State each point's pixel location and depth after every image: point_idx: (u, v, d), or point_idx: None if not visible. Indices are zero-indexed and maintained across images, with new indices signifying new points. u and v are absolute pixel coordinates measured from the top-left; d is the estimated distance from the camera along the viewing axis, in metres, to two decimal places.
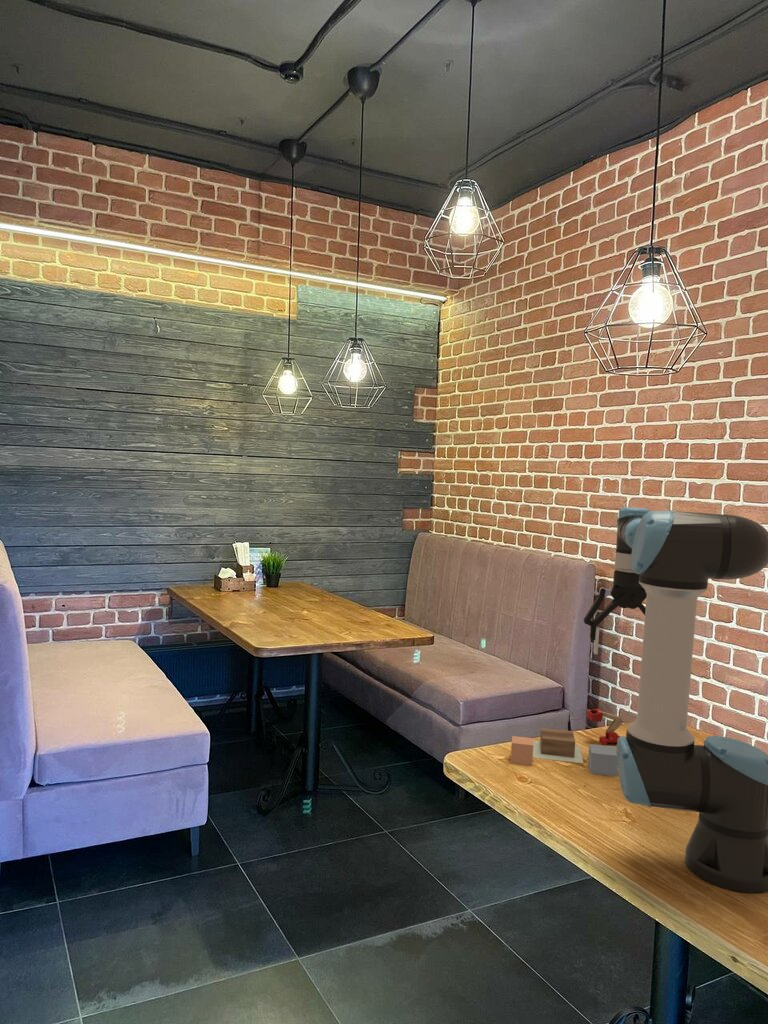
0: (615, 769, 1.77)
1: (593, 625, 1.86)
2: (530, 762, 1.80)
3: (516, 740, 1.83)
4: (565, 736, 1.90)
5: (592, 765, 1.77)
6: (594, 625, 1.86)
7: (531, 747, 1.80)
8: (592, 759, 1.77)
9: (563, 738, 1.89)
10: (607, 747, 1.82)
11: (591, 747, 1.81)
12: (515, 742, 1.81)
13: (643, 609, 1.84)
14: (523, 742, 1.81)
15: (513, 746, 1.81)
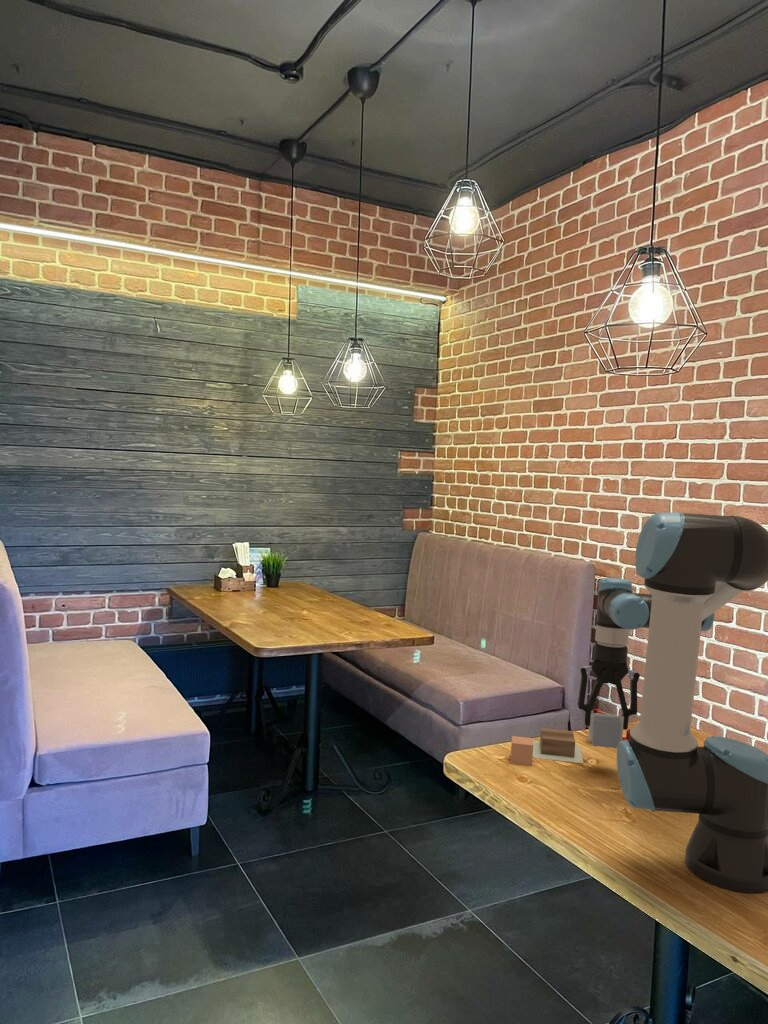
0: (618, 736, 1.76)
1: (588, 711, 1.78)
2: (530, 762, 1.80)
3: (515, 740, 1.83)
4: (565, 736, 1.90)
5: (595, 732, 1.77)
6: (589, 710, 1.78)
7: (531, 747, 1.80)
8: (595, 726, 1.77)
9: (563, 738, 1.89)
10: (610, 715, 1.81)
11: (594, 715, 1.80)
12: (515, 742, 1.81)
13: (619, 687, 1.77)
14: (523, 742, 1.81)
15: (513, 746, 1.81)
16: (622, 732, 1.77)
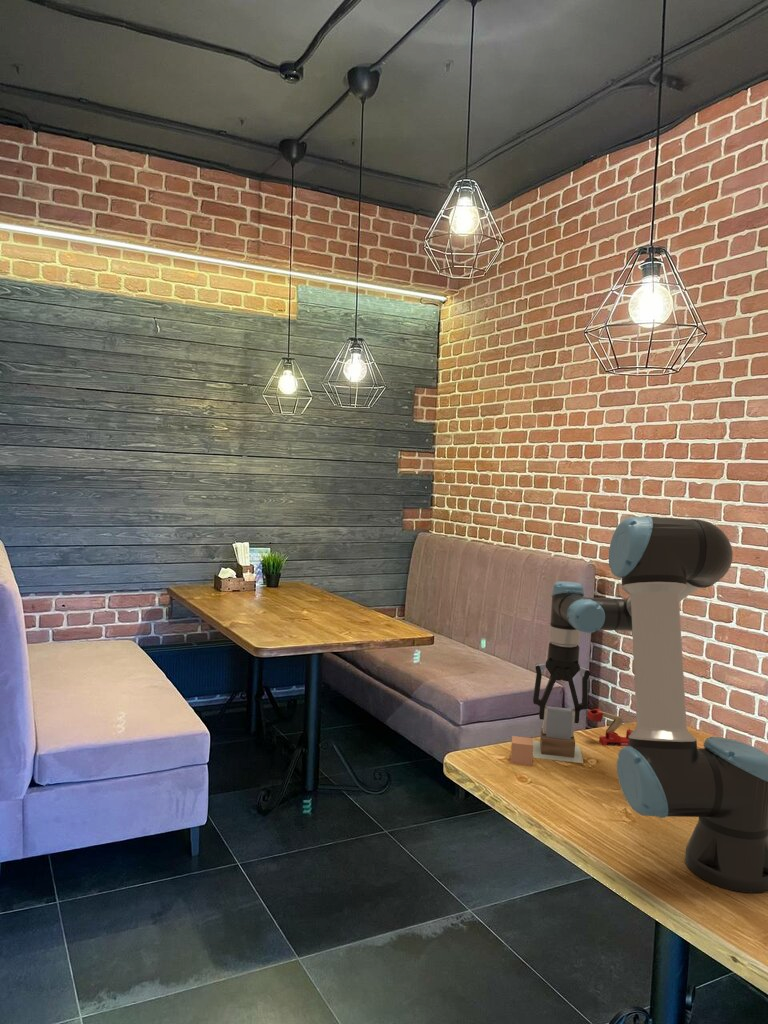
0: (569, 728, 1.88)
1: (542, 705, 1.91)
2: (530, 762, 1.80)
3: (516, 740, 1.83)
4: None
5: (548, 725, 1.89)
6: (543, 705, 1.90)
7: (531, 747, 1.80)
8: (548, 719, 1.89)
9: None
10: (563, 709, 1.93)
11: (548, 709, 1.92)
12: (515, 742, 1.81)
13: (571, 684, 1.89)
14: (523, 742, 1.81)
15: (513, 746, 1.81)
16: (573, 725, 1.89)
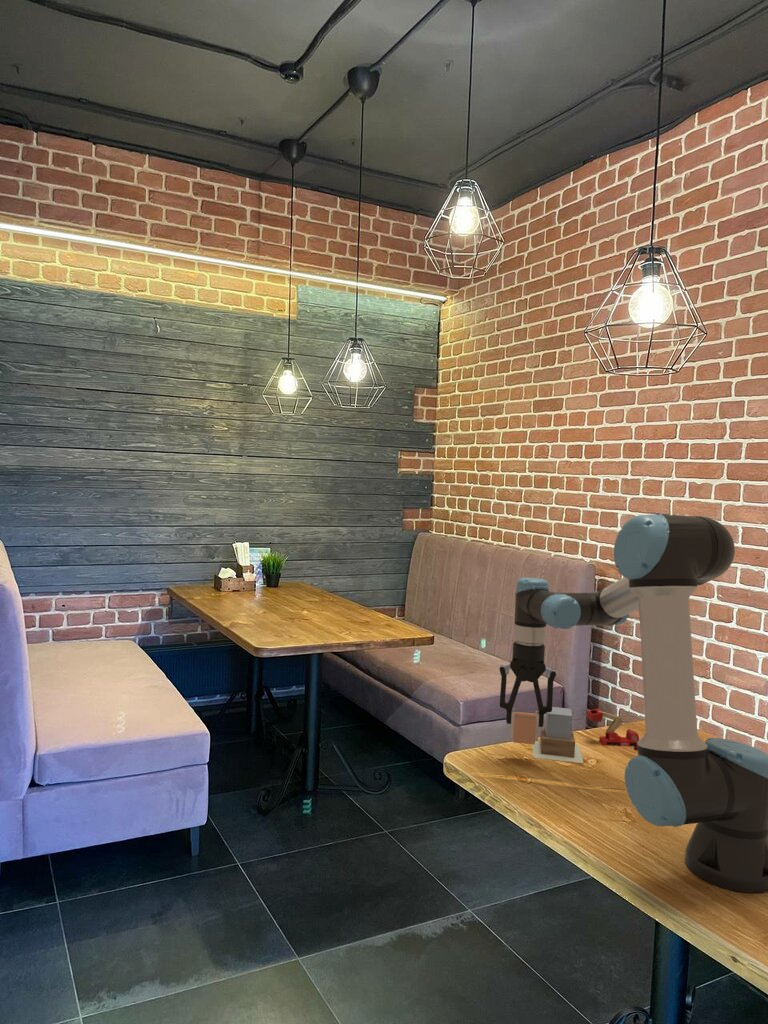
0: (569, 728, 1.88)
1: (509, 709, 1.82)
2: (533, 736, 1.79)
3: (518, 715, 1.82)
4: None
5: (548, 725, 1.89)
6: (510, 709, 1.81)
7: (534, 721, 1.79)
8: (548, 719, 1.89)
9: None
10: (563, 709, 1.93)
11: None
12: (518, 717, 1.81)
13: (536, 685, 1.80)
14: (526, 717, 1.81)
15: (516, 721, 1.80)
16: None
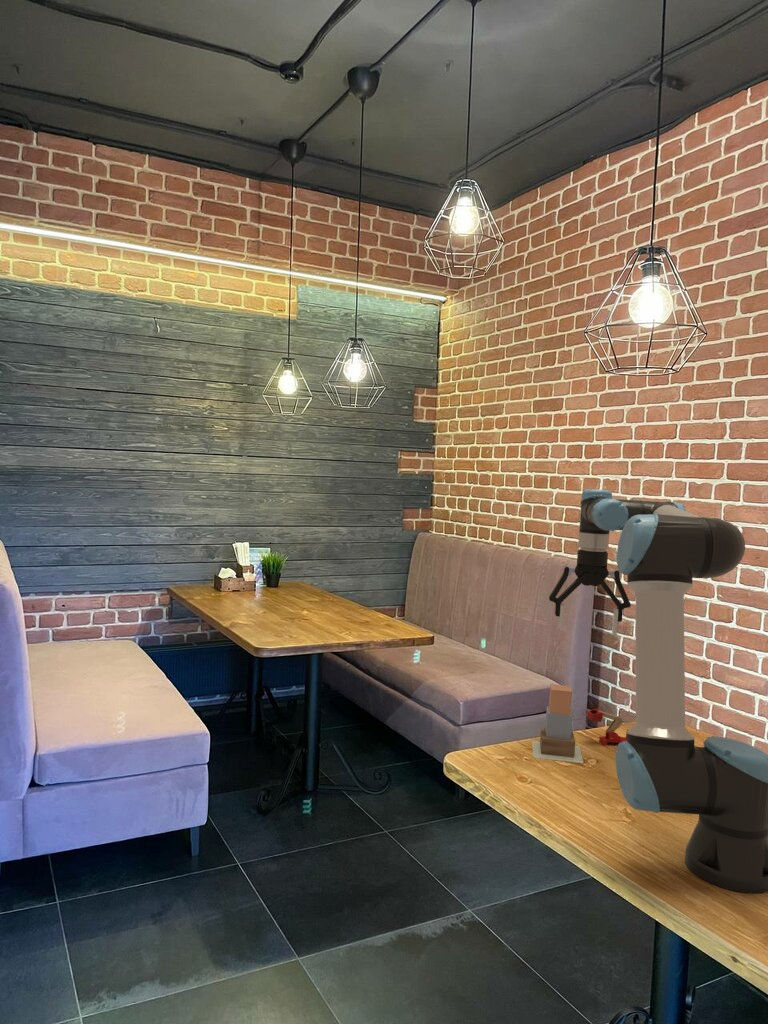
0: (569, 728, 1.88)
1: (558, 602, 1.95)
2: (569, 708, 1.88)
3: (554, 687, 1.91)
4: None
5: (548, 725, 1.89)
6: (558, 602, 1.94)
7: (570, 693, 1.88)
8: (548, 719, 1.89)
9: None
10: None
11: (548, 709, 1.92)
12: (554, 689, 1.89)
13: (605, 586, 1.92)
14: (562, 689, 1.89)
15: (552, 692, 1.89)
16: None
